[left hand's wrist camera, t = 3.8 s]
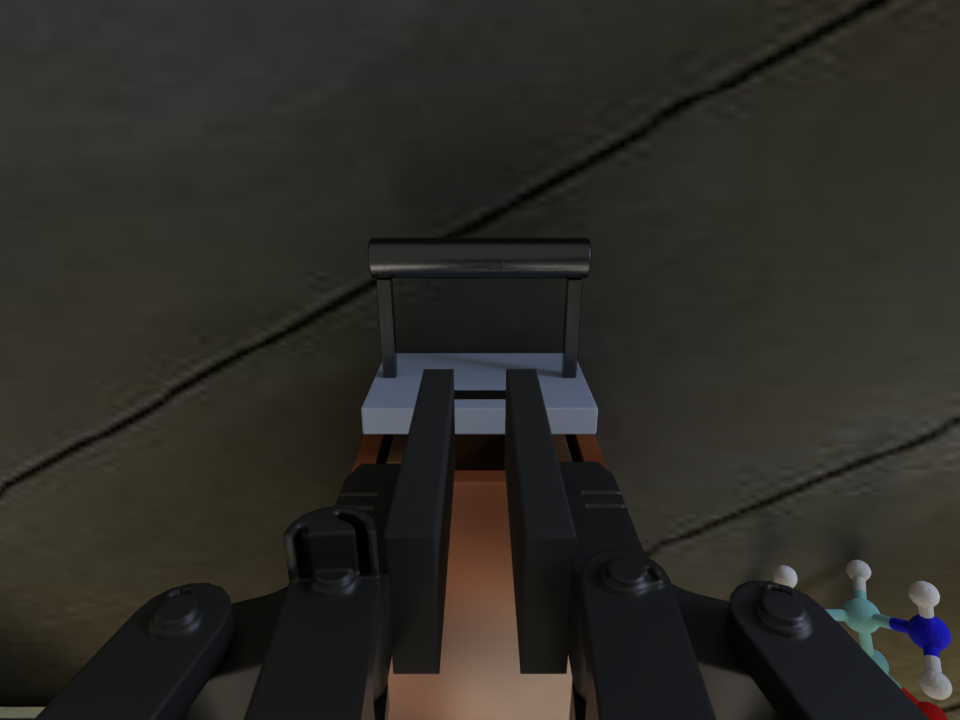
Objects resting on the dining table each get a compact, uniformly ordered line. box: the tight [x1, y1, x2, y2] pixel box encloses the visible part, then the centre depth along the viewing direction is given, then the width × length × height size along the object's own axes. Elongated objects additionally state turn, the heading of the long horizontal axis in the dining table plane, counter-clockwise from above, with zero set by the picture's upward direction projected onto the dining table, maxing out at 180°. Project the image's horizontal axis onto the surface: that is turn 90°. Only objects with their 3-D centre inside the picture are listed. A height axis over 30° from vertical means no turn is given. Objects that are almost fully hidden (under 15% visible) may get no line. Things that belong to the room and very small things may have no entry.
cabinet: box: [349, 434, 607, 720], centre depth 30 cm, size 16×11×8 cm, turn 0°
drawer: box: [361, 238, 598, 471], centre depth 27 cm, size 21×9×6 cm, turn 0°
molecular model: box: [772, 560, 952, 720], centre depth 32 cm, size 12×10×10 cm
